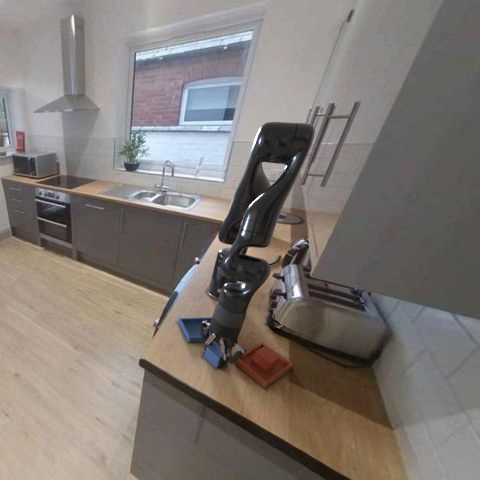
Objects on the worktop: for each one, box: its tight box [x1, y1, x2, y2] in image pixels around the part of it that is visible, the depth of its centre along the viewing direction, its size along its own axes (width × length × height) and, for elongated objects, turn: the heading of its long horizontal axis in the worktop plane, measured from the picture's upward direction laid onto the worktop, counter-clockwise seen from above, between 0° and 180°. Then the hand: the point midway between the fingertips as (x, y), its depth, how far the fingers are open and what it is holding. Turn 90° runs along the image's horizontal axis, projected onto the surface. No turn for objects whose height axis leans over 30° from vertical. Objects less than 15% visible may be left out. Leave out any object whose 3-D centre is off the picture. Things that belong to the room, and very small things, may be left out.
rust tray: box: [233, 342, 294, 389], centre depth 77 cm, size 13×9×2 cm
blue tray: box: [177, 316, 213, 343], centre depth 89 cm, size 13×9×2 cm
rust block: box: [251, 346, 280, 374], centre depth 76 cm, size 4×4×4 cm
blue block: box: [203, 342, 222, 369], centre depth 78 cm, size 4×4×4 cm
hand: (214, 358), depth 79 cm, fingers closed on blue block, 4 cm apart
